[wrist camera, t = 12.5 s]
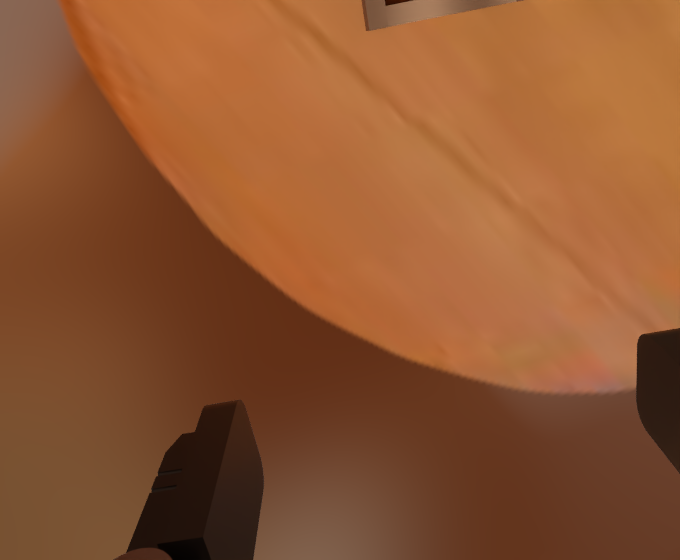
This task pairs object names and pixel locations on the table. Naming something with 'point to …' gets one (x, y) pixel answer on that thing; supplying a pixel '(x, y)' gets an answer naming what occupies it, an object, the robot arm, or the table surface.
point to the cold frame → (418, 10)
